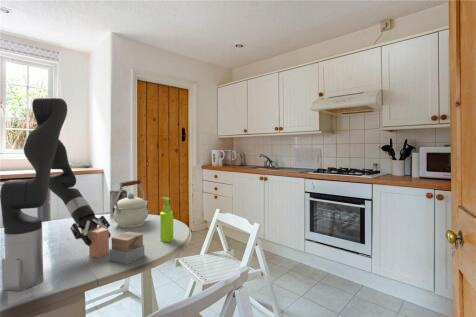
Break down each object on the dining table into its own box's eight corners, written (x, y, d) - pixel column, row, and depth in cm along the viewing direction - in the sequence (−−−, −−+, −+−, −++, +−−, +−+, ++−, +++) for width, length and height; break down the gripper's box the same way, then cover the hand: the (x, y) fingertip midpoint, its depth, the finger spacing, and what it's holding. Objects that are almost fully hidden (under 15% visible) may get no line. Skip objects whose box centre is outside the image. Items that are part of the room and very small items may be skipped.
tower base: (126, 265, 95) (126, 253, 95) (109, 260, 99) (109, 249, 99) (144, 255, 104) (144, 244, 104) (128, 252, 107) (128, 241, 107)
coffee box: (124, 213, 171) (124, 189, 170) (127, 215, 166) (127, 190, 165) (109, 215, 165) (109, 190, 164) (112, 217, 160) (112, 192, 159)
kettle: (130, 231, 133) (129, 184, 132) (103, 228, 139) (102, 182, 138) (159, 219, 156) (159, 178, 155) (135, 216, 162) (134, 177, 161)
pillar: (98, 257, 101) (97, 232, 101) (89, 255, 103) (88, 231, 103) (108, 253, 106) (108, 229, 105) (100, 251, 108) (100, 227, 107)
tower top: (126, 252, 96) (126, 240, 96) (111, 248, 99) (111, 237, 99) (142, 245, 103) (142, 234, 103) (128, 242, 107) (128, 231, 106)
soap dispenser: (167, 236, 126) (166, 196, 125) (175, 239, 121) (175, 197, 121) (156, 239, 121) (156, 197, 121) (165, 243, 117) (164, 199, 116)
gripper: (67, 208, 101) (88, 241, 96) (99, 201, 114) (119, 230, 110) (59, 220, 103) (78, 252, 99) (91, 212, 116) (110, 240, 112)
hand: (100, 241), depth 104 cm, fingers open, 8 cm apart
